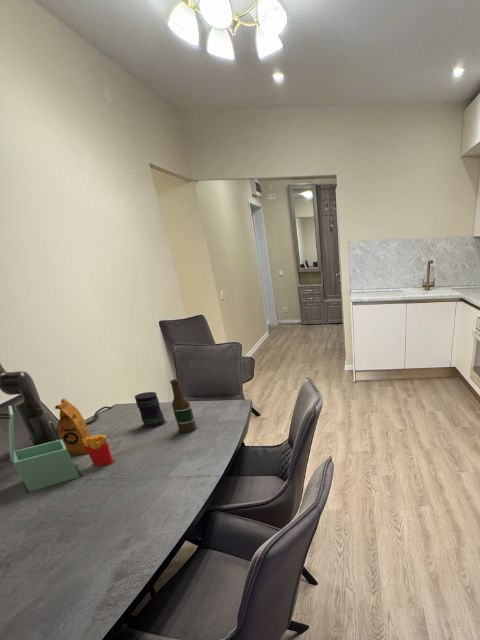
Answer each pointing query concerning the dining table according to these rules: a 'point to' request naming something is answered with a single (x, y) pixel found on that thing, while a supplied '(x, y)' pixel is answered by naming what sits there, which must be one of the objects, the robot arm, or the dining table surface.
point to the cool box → (44, 465)
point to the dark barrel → (149, 409)
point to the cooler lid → (10, 431)
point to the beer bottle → (182, 409)
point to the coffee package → (72, 428)
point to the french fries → (98, 449)
